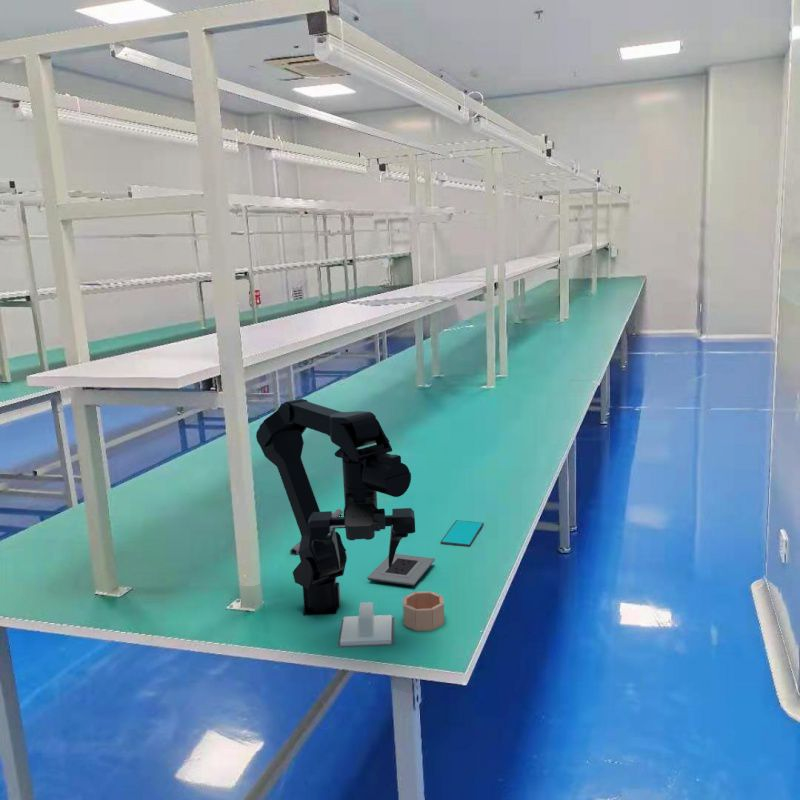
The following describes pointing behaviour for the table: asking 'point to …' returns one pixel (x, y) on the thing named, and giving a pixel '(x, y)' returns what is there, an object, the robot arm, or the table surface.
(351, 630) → the lid
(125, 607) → the table surface
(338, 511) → the metal rod
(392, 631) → the mat
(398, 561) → the electrical outlet
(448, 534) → the smartphone
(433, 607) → the bowl
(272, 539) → the table surface
